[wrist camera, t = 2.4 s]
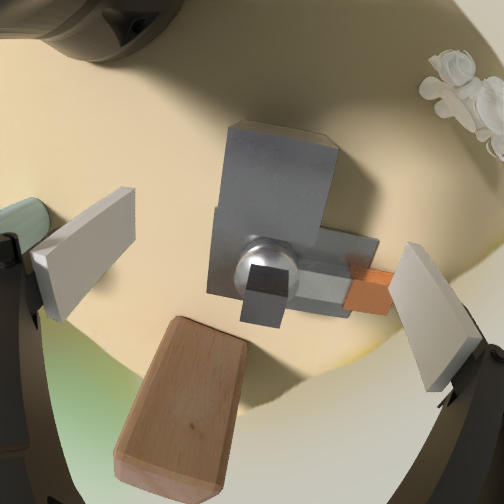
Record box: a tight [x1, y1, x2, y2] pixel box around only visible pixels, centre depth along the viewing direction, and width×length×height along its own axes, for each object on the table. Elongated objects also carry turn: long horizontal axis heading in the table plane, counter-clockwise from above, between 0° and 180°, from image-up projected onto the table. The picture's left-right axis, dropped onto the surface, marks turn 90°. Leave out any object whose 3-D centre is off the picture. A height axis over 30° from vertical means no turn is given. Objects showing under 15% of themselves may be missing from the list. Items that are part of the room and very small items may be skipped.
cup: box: [0, 197, 50, 254], centre depth 27 cm, size 8×8×10 cm
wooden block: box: [113, 316, 248, 504], centre depth 30 cm, size 10×10×20 cm
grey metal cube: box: [216, 120, 339, 246], centre depth 23 cm, size 7×7×8 cm
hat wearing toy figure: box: [419, 49, 504, 162], centre depth 16 cm, size 9×4×12 cm, turn 48°
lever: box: [206, 207, 394, 328], centre depth 28 cm, size 10×19×7 cm, turn 81°
